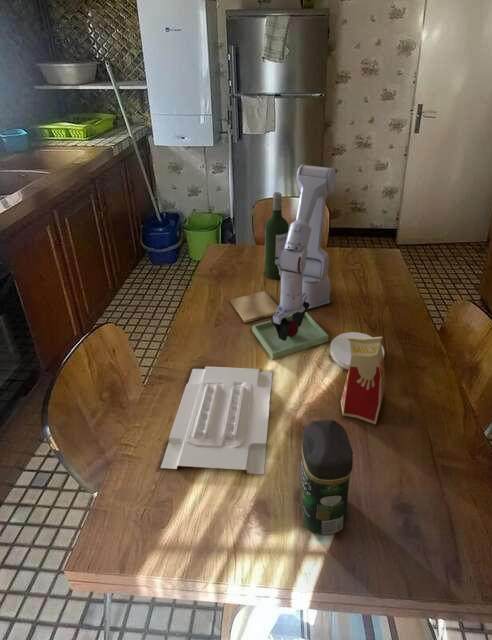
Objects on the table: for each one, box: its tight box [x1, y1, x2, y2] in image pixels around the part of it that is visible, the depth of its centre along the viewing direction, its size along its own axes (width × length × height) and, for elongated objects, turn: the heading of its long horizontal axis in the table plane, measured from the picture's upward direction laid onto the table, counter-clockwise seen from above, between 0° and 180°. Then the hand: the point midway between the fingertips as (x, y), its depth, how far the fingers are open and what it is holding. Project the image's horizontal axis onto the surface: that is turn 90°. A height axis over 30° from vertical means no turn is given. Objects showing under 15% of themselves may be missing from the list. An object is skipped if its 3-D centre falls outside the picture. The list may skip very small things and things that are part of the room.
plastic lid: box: [329, 331, 385, 371], centre depth 115 cm, size 14×14×2 cm
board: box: [230, 290, 279, 324], centre depth 135 cm, size 12×12×1 cm
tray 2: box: [251, 311, 330, 360], centre depth 122 cm, size 17×13×2 cm
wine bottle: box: [264, 191, 290, 280], centre depth 147 cm, size 8×8×30 cm
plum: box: [287, 320, 298, 337], centre depth 121 cm, size 5×5×5 cm
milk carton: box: [340, 336, 386, 425], centre depth 96 cm, size 9×9×20 cm
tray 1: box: [160, 366, 274, 475], centre depth 97 cm, size 20×28×4 cm
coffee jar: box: [299, 419, 354, 536], centre depth 74 cm, size 10×8×19 cm
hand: (289, 331), depth 122 cm, fingers open, 7 cm apart
